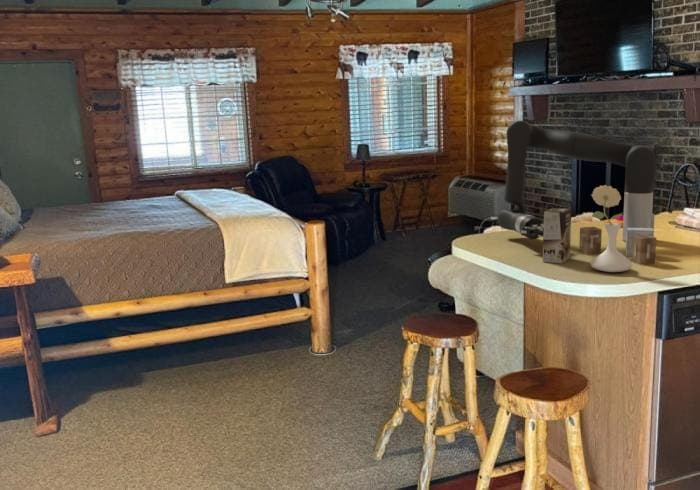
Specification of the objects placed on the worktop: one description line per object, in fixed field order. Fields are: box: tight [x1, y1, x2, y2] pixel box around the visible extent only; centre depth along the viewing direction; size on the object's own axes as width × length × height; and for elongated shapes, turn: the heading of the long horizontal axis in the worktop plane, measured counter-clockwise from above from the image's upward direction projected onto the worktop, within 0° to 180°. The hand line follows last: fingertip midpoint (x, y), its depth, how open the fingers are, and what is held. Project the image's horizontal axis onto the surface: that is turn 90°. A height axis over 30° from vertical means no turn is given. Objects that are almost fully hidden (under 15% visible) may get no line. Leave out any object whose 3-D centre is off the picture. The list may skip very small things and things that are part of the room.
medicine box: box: [625, 228, 655, 257], centre depth 214 cm, size 8×4×9 cm, turn 71°
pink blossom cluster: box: [603, 214, 624, 228], centre depth 267 cm, size 8×8×4 cm
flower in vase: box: [590, 184, 633, 273], centre depth 195 cm, size 13×11×25 cm
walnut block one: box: [630, 235, 657, 266], centre depth 204 cm, size 5×5×8 cm
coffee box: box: [542, 207, 572, 264], centre depth 211 cm, size 9×6×16 cm
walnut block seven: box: [578, 226, 603, 255], centre depth 221 cm, size 5×5×8 cm
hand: (550, 235), depth 216 cm, fingers closed
